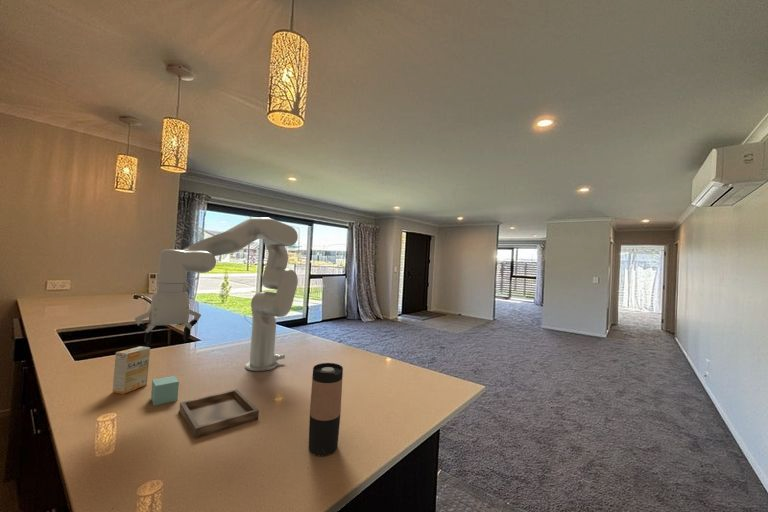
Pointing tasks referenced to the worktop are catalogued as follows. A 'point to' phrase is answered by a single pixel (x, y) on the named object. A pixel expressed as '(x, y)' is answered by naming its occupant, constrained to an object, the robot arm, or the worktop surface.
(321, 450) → the travel mug
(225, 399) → the walnut tray
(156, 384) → the teal cube
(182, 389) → the worktop surface
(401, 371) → the worktop surface
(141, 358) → the supplement box
